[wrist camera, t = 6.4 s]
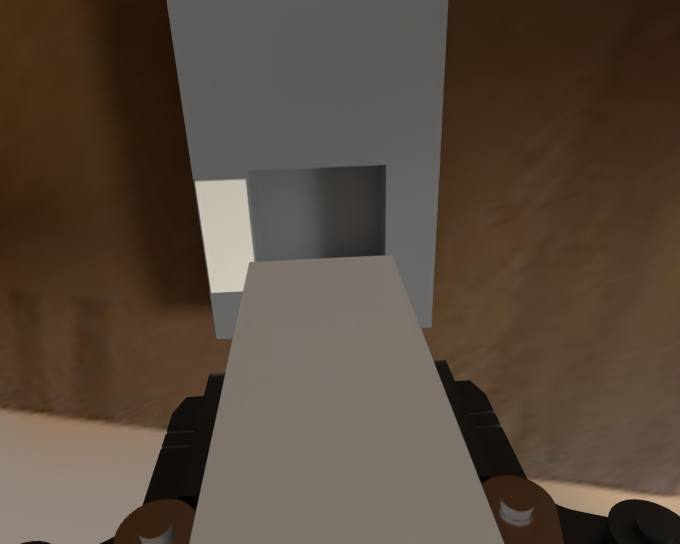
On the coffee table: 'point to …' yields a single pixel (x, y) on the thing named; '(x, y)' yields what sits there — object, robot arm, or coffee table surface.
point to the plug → (336, 419)
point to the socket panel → (312, 134)
